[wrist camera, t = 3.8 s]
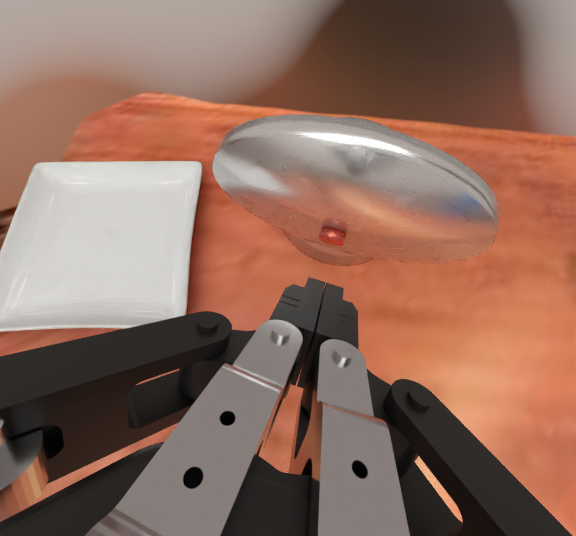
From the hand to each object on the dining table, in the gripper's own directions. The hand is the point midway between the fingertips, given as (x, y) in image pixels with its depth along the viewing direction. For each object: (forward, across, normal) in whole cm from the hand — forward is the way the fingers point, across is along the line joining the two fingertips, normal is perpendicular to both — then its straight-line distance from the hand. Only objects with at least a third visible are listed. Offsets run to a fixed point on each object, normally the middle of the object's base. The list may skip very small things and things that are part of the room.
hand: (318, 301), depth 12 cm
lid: (+13, 0, -2) cm, 13 cm away
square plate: (+24, +32, +16) cm, 43 cm away
